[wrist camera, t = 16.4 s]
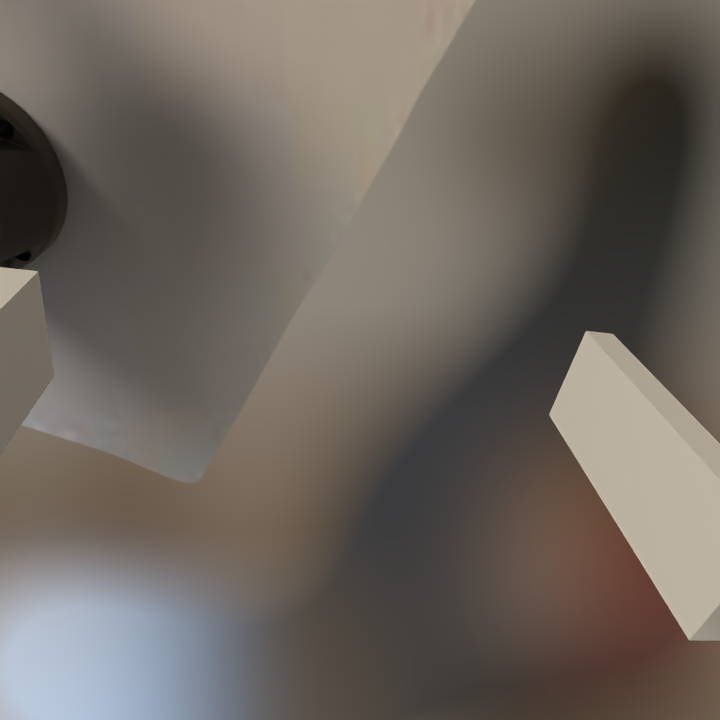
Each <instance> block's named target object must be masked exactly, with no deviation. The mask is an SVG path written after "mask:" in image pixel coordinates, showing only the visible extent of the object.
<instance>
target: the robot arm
mask: <svg viewBox="0 0 720 720" xmlns="http://www.w3.org/2000/svg"><path fill="white" fill-rule="evenodd" d="M66 208H67V191H66V184H65V180H64V176H63V172H62V169H61V166H60V163H59V161H58V159H57V156H56V154H55V152H54V151H53V149H52V147H51V145H50V143H49V142H48V140H47V139H46V137H45V136H44V134H43V133H42V132H41V130H40V129H39V128H38V126H37V125H36V124H35V123H34V122H33V121H32V119H31V118H30V117H29V116H28V115H27V114H26V113H25V112H24V111H23V110H22V109H21V108H20V107H18V106H17V105H16V104H15V103H14V102H13V101H11V100H10V99H9V98H7V97H6V96H5V95H3V94H2V93H0V455H1V454H2V452H3V451H4V449H5V447H6V446H7V445H8V443H9V441H10V440H11V439H12V437H13V436H14V434H15V433H16V431H17V430H18V428H19V427H20V426H21V424H22V423H23V421H24V420H25V418H26V417H27V415H28V414H29V412H30V411H31V409H32V408H33V406H34V405H35V403H36V402H37V400H38V399H39V397H40V396H41V394H42V393H43V391H44V390H45V388H46V387H47V385H48V384H49V382H50V381H51V379H52V378H53V377H54V370H53V364H52V357H51V350H50V344H49V337H48V331H47V324H46V318H45V311H44V305H43V298H42V291H41V285H40V278H39V272H38V271H31V270H22V269H20V268H22V267H24V266H26V265H27V264H29V263H31V262H32V261H33V260H35V259H36V258H37V257H38V256H39V255H40V254H42V253H43V252H44V251H45V250H46V249H47V248H48V247H49V246H50V245H51V244H52V243H53V241H54V240H55V239H56V237H57V236H58V234H59V232H60V230H61V228H62V225H63V223H64V219H65V215H66ZM549 415H550V417H551V419H552V420H553V422H554V423H555V425H556V427H557V428H558V430H559V431H560V433H561V435H562V436H563V438H564V440H565V441H566V443H567V444H568V446H569V447H570V449H571V451H572V452H573V454H574V456H575V457H576V459H577V460H578V462H579V463H580V465H581V467H582V468H583V470H584V472H585V473H586V475H587V476H588V478H589V480H590V481H591V483H592V485H593V486H594V488H595V489H596V491H597V492H598V494H599V496H600V497H601V499H602V501H603V502H604V504H605V506H606V507H607V509H608V510H609V512H610V514H611V515H612V517H613V518H614V520H615V521H616V523H617V525H618V526H619V528H620V530H621V531H622V533H623V535H624V536H625V538H626V539H627V541H628V542H629V544H630V546H631V547H632V549H633V551H634V552H635V554H636V555H637V557H638V558H639V560H640V562H641V563H642V565H643V567H644V568H645V570H646V571H647V573H648V575H649V576H650V578H651V579H652V581H653V583H654V584H655V586H656V587H657V589H658V591H659V592H660V594H661V596H662V597H663V599H664V601H665V602H666V604H667V605H668V607H669V608H670V610H671V612H672V613H673V615H674V617H675V618H676V620H677V621H678V623H679V625H680V626H681V628H682V630H683V631H684V633H685V634H686V636H687V638H688V639H689V640H720V444H719V443H718V442H717V441H716V440H715V439H714V437H712V435H711V434H710V433H709V432H708V431H707V430H706V429H705V428H704V427H703V426H702V425H701V424H700V423H699V422H698V421H697V420H696V419H695V418H694V417H693V416H692V415H691V414H690V413H689V412H688V411H687V410H686V409H685V408H684V407H683V406H682V405H681V404H680V403H679V402H678V401H677V399H676V398H675V397H673V395H672V394H671V393H670V392H669V391H668V390H667V389H666V388H665V387H664V386H663V385H662V384H661V383H660V382H659V381H658V380H657V379H656V378H655V377H654V376H653V375H652V374H651V373H650V372H649V371H648V370H647V369H646V368H645V367H644V366H643V365H642V364H641V363H640V362H639V361H638V360H637V359H636V358H635V356H634V355H633V354H632V353H631V352H630V351H629V350H628V349H627V348H626V347H625V346H624V345H623V344H622V343H621V342H620V341H619V340H618V339H617V338H616V337H615V336H614V335H613V334H608V333H598V332H589V331H586V332H585V335H584V337H583V339H582V342H581V344H580V346H579V348H578V351H577V353H576V355H575V357H574V360H573V362H572V364H571V367H570V369H569V371H568V373H567V375H566V378H565V380H564V382H563V385H562V387H561V389H560V391H559V394H558V396H557V398H556V401H555V403H554V405H553V407H552V409H551V412H550V414H549Z"/></svg>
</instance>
